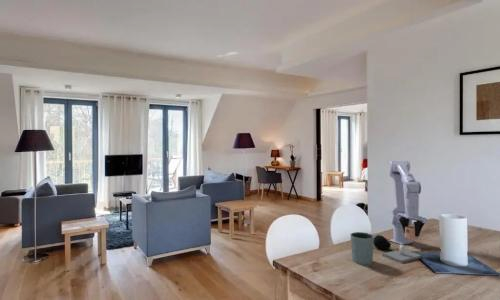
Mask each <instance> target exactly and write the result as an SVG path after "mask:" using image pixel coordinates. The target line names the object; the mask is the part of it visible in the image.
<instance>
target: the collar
mask: <svg viewBox="0 0 500 300" xmlns="http://www.w3.org/2000/svg"><path fill="white" fill-rule="evenodd" d="M405 237H406V238H409V239H412V240H417V239H419V236H418V237H416V236H415V226H414V225H413V226H411V225H409V226H405Z"/></svg>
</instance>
